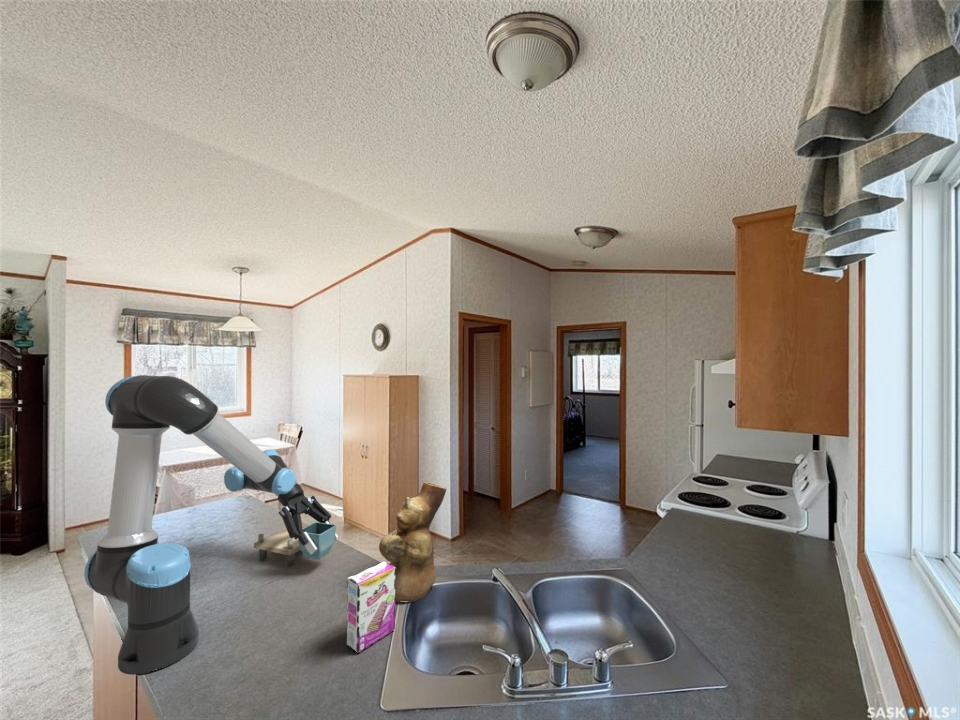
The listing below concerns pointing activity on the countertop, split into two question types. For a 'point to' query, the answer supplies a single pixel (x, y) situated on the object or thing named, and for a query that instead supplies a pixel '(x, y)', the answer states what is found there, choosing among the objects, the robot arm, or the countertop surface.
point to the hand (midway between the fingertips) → (325, 545)
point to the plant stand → (278, 546)
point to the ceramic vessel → (413, 544)
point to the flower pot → (319, 539)
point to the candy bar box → (370, 605)
